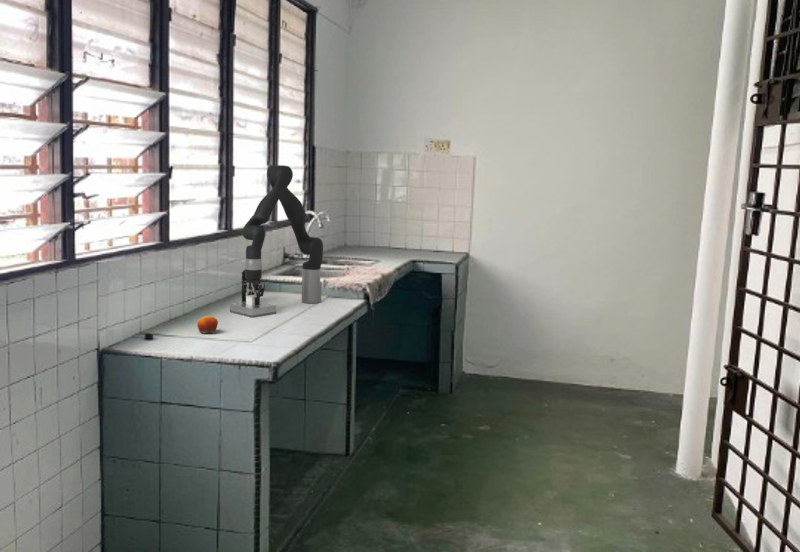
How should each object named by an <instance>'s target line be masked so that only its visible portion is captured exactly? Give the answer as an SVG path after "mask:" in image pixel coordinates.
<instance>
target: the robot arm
mask: <svg viewBox="0 0 800 552" xmlns="http://www.w3.org/2000/svg"><path fill="white" fill-rule="evenodd" d="M293 173H294V172H293V170H292V168H291V167H290V166H288V165H281V164H280V165H279V164H278V165H277V164H276V165H275V164H274V165H270V166H269V167H267V170H266V177H267V181H268V182H269V184H270V186H271V188H272V189H271V190H270V191H269V192H268V193H267V194H266V195H265V196H264V197H263V198H262V199H260V201H259V203H258V205H257V207H256V209H255V211H254V213H253V215H252V216H251V217H250V218H249V220H248V221H246V223H245V225H244V226H243V229H242V236H243V238H244V239H245V240H249V241H252V242H251V245H247V246H246V248H245V262H244V270H245V278H246V279H247V280H246V281H242V280H241V288H242V287H243V293H244V294H246V296H247V295H251V294H252V291H253V293H254V295H255V305H259V304H260V302H261V300H260V299H261V298H260V297H263V296H264V293H265V286H266V285H265V284H264V283H261V279H262V275H263V274H262V269H263V268H262V267H263V262H262V249H263V247H264V246H263V245H264V243H265V238H266V230H265V229H264V227H263V226H262V225H265V224H267V223H268V221H269V219H270V217H271V215H272V212H273V211H274V208H275V206H276V205H277V203H278V202H279V203H280V204H281V206H282V208H283V211H284V214H285V215H286V216H285V217H286V218H287V220H288V222H289V224H290V226H291V229H292V230H293V234H294V236H295V240H296V243H297V246H298V248H299V250H300V252H301V253H302V254H304V255H307V256H309V258H308V260H307V261H304V262H302V271H301V272H302V273H301V274H302V275H301V303H304V304H318V303H321V302H322V287H323V286H322V284H323V283H322V282H321V268H322V267H321V266H322V264H323V255H324V244H323V243H324V242H323V240H322V239H321V238H320V237H315V236H310V235H309V234H308V231H307V229H306V223H307V222H306V220H307V213H306V210H305V208H304V205H303V203H302V202H301V200H300V199H299V198H298V197H297V196H296V195H295V194H294V193H293V192H292V191H291V190H290V189H289V185H290V184H291V182H292V180H293V178H294V177H293V176H294V174H293ZM245 288H246V291H245ZM257 289H258V290H257ZM256 290H257V291H256ZM249 291H250V292H249ZM257 293H258V295H257ZM320 301H321V302H320Z"/></svg>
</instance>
